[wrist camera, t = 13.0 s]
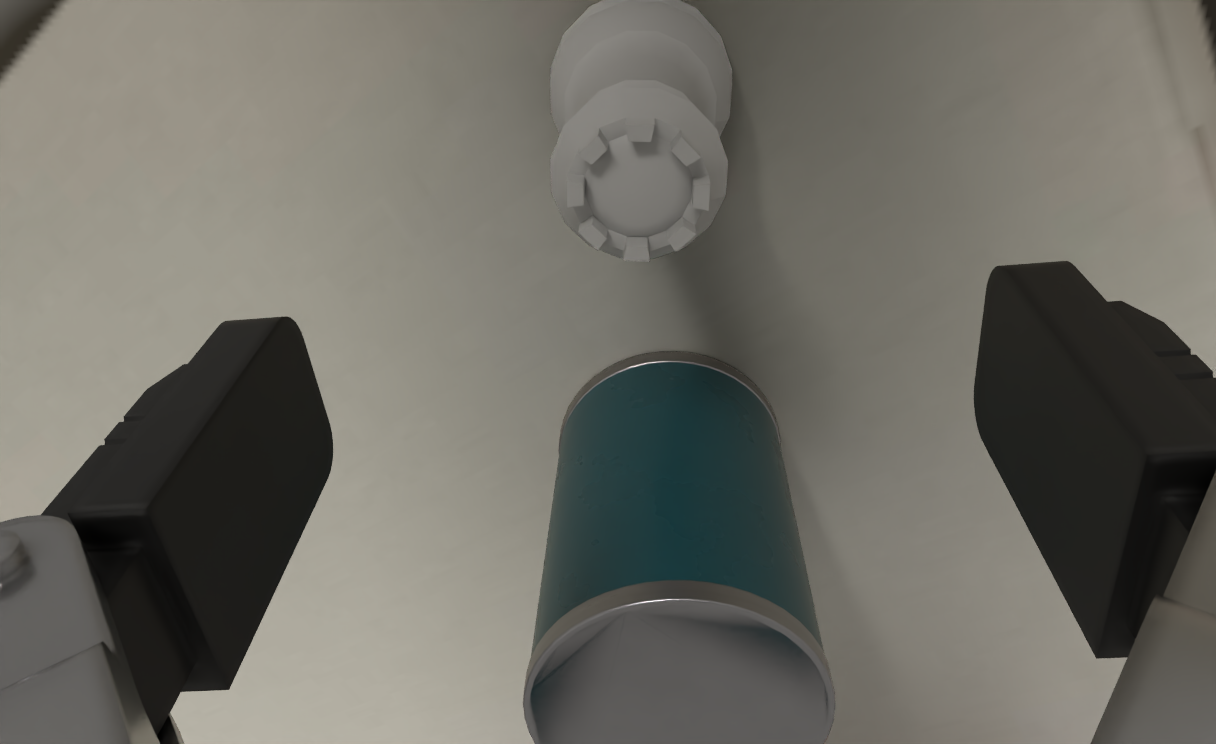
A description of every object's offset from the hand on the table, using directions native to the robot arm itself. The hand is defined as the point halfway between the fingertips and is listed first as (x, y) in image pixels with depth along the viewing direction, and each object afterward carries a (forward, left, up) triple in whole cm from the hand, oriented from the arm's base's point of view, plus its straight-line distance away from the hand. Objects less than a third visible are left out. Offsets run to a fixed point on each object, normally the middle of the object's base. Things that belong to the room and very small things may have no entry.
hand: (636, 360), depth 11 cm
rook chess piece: (0, 0, -14) cm, 14 cm away
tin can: (+11, 0, -14) cm, 18 cm away
